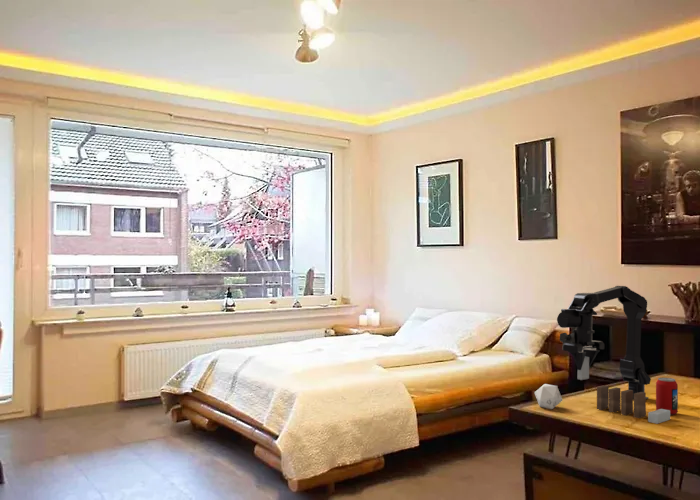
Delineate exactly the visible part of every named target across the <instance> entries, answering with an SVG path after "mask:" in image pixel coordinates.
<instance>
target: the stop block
mask: <svg viewBox="0 0 700 500" xmlns="http://www.w3.org/2000/svg"><path fill="white" fill-rule="evenodd" d="M647 414H648V415H647V417H648V418H647V421H648V422H649V423H653V424H656V425H657V424H660V423H664V422H667V421H669V420H671V415H670V410H665V409H659V410H656V409H655V410H652V411H649V412H647Z"/></svg>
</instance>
